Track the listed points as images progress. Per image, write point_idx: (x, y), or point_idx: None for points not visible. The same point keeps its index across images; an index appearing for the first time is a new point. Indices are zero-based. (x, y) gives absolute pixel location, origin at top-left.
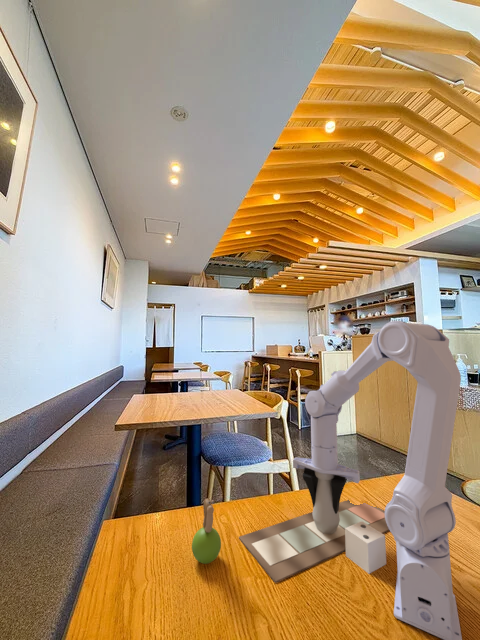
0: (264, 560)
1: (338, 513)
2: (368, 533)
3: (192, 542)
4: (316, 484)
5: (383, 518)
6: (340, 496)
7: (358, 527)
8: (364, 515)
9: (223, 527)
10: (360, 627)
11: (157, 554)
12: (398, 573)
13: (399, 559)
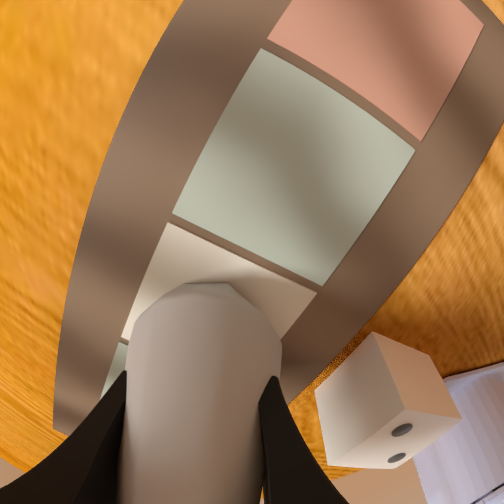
0: None
1: (278, 373)
2: (410, 443)
3: None
4: (107, 493)
5: (466, 57)
6: (302, 444)
7: (381, 442)
8: (382, 69)
9: (7, 404)
10: (343, 472)
11: (32, 461)
12: (436, 454)
13: (444, 490)
